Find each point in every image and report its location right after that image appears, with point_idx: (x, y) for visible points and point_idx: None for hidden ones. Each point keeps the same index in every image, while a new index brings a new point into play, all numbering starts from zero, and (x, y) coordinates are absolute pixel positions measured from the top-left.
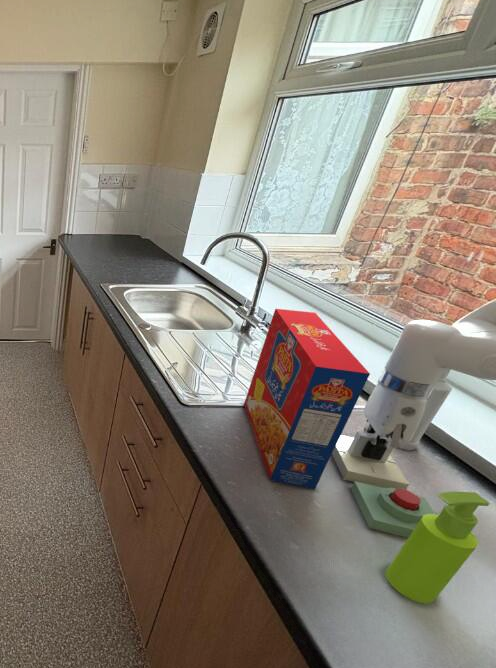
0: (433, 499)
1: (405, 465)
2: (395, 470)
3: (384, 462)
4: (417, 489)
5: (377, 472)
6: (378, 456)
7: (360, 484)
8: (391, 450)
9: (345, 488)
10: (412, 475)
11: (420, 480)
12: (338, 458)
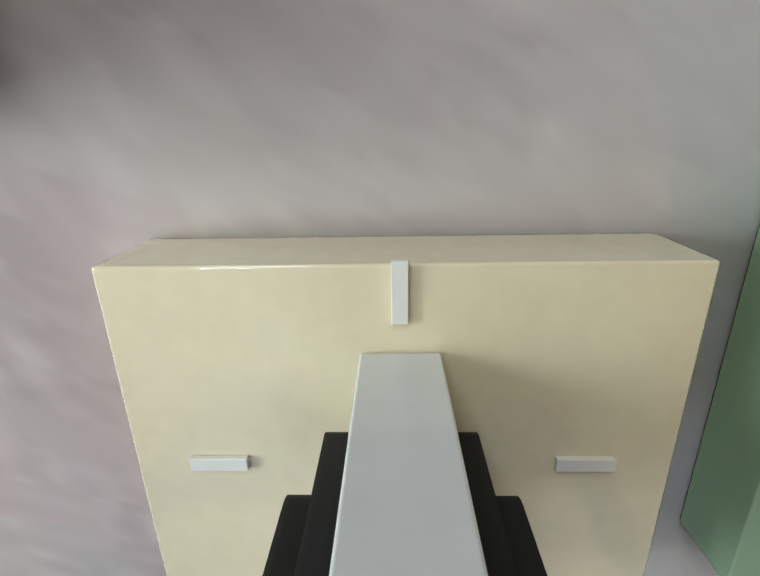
0: (677, 18)
1: (247, 76)
2: (530, 303)
3: (441, 359)
4: (572, 105)
5: (607, 448)
6: (526, 517)
7: (756, 564)
8: (462, 464)
9: (678, 539)
10: (381, 70)
11: (432, 25)
12: None
